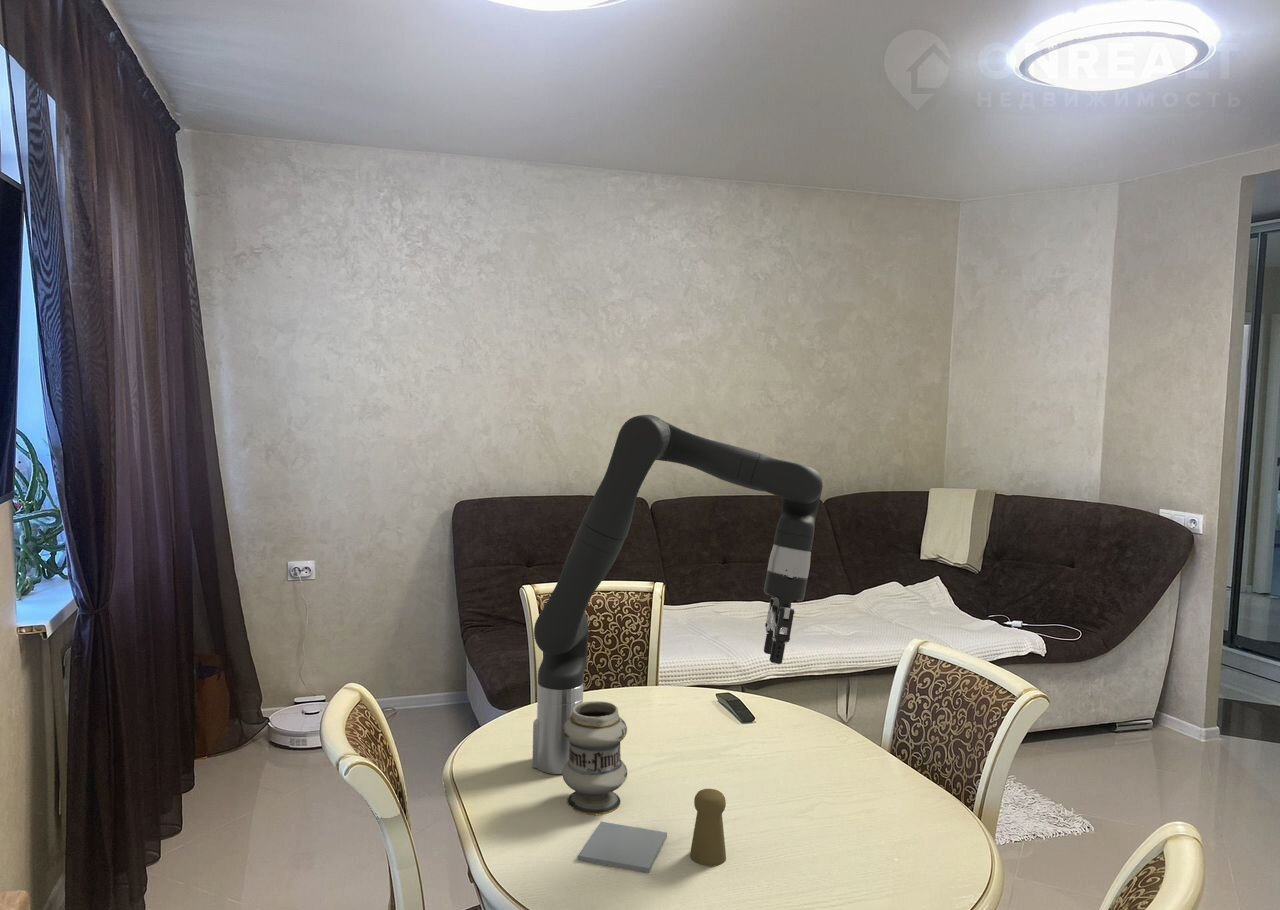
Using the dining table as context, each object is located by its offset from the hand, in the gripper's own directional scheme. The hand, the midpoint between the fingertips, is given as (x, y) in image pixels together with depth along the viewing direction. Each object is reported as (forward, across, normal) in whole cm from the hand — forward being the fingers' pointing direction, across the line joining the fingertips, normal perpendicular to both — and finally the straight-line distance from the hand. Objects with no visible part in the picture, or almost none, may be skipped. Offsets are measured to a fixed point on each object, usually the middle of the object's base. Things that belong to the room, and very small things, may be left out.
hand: (772, 658), depth 162 cm
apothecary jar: (+33, -1, -28) cm, 43 cm away
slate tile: (+33, +15, -21) cm, 42 cm away
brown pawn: (+32, +16, -7) cm, 36 cm away
